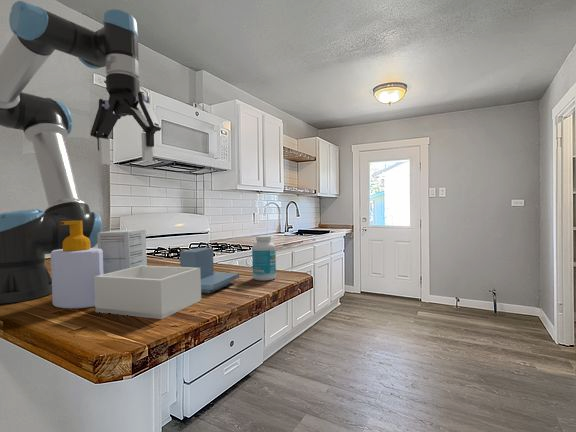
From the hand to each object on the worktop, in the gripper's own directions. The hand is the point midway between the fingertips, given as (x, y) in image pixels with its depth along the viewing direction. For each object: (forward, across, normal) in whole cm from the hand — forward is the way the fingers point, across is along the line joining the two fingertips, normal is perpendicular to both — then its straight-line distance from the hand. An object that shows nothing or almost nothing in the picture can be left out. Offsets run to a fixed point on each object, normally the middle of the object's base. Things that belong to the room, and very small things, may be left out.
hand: (125, 162), depth 81 cm
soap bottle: (+35, -9, -7) cm, 37 cm away
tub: (+35, +10, -4) cm, 36 cm away
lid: (+35, +10, +15) cm, 39 cm away
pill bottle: (+35, +25, +29) cm, 52 cm away
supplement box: (+35, -10, +8) cm, 37 cm away
